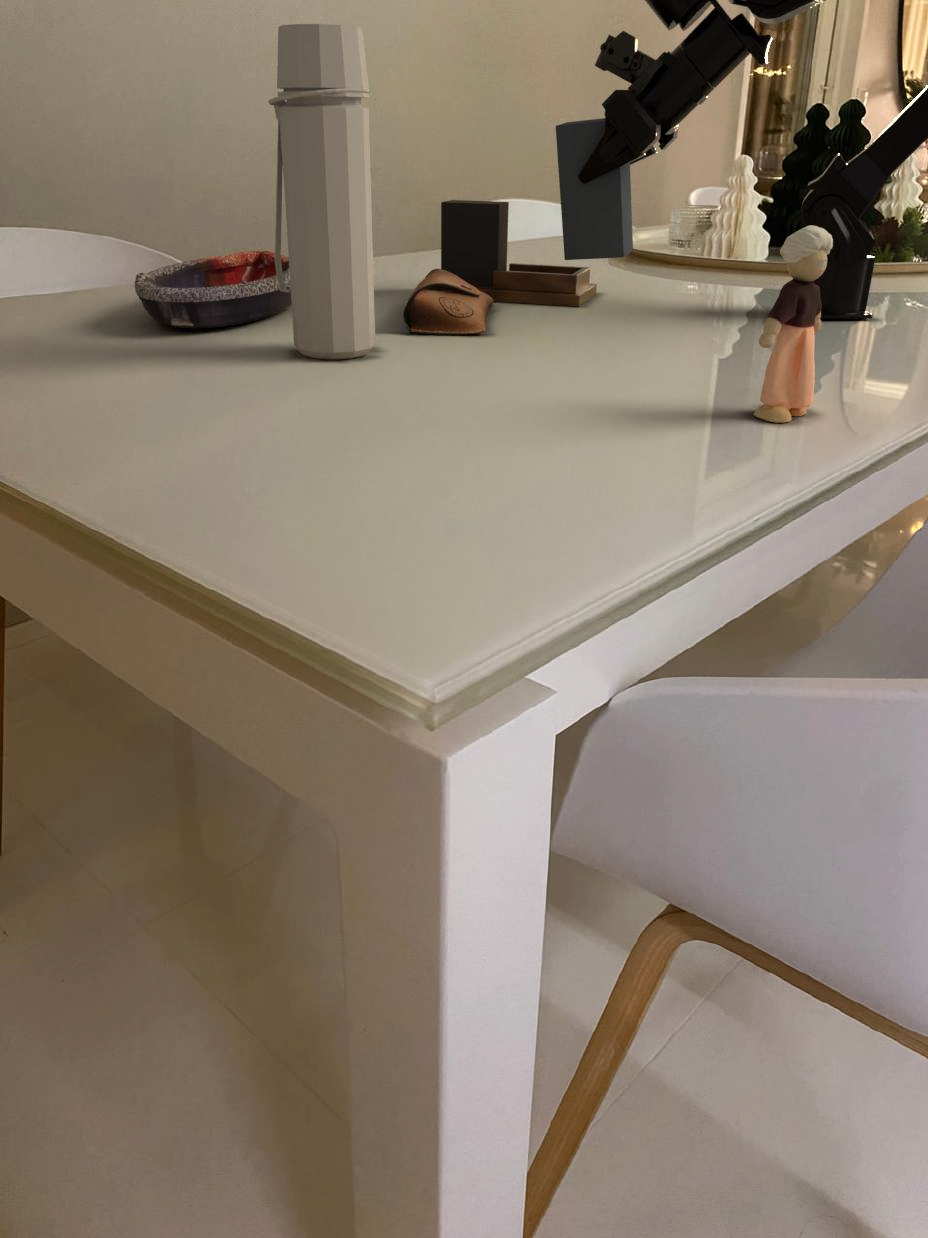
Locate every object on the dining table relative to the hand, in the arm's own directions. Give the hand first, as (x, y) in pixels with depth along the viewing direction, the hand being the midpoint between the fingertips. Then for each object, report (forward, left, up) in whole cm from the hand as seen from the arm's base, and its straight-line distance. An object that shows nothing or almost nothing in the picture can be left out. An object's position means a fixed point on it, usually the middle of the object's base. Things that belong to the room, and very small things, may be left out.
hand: (584, 179), depth 112 cm
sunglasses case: (+16, +12, -13) cm, 24 cm away
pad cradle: (+7, -3, -13) cm, 15 cm away
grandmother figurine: (-3, +52, -13) cm, 53 cm away
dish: (+39, +6, -13) cm, 42 cm away
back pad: (-2, 0, -8) cm, 8 cm away
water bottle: (+29, +28, -13) cm, 43 cm away
